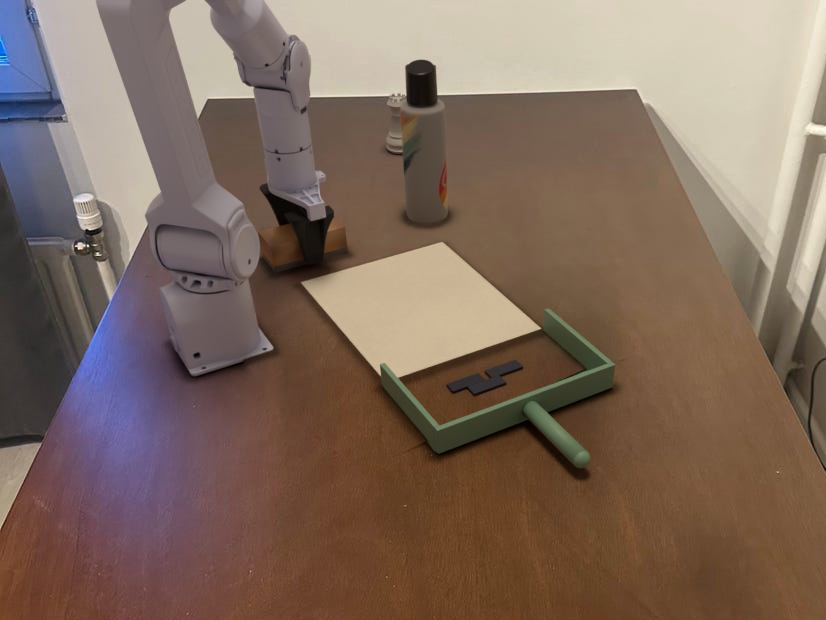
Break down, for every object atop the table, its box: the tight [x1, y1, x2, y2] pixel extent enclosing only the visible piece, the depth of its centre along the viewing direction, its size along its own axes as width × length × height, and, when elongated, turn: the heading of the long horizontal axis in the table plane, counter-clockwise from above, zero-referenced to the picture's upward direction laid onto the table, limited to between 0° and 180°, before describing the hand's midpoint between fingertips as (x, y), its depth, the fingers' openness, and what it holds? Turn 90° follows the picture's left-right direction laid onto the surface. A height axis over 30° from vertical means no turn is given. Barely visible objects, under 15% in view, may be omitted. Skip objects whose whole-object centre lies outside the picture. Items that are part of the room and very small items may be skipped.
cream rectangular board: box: [300, 241, 542, 379], centre depth 106 cm, size 20×24×1 cm
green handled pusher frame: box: [380, 307, 616, 469], centre depth 91 cm, size 22×21×3 cm
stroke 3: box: [484, 359, 524, 379], centre depth 97 cm, size 4×2×1 cm, turn 120°
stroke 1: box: [445, 372, 486, 395], centre depth 95 cm, size 4×2×1 cm, turn 121°
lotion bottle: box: [400, 59, 449, 224], centre depth 116 cm, size 6×6×20 cm
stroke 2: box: [466, 375, 507, 397], centre depth 95 cm, size 4×2×1 cm, turn 121°
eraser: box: [257, 216, 349, 273], centre depth 114 cm, size 10×4×4 cm, turn 120°
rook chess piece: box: [385, 92, 407, 155], centre depth 136 cm, size 4×4×8 cm
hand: (303, 249), depth 114 cm, fingers open, 7 cm apart
